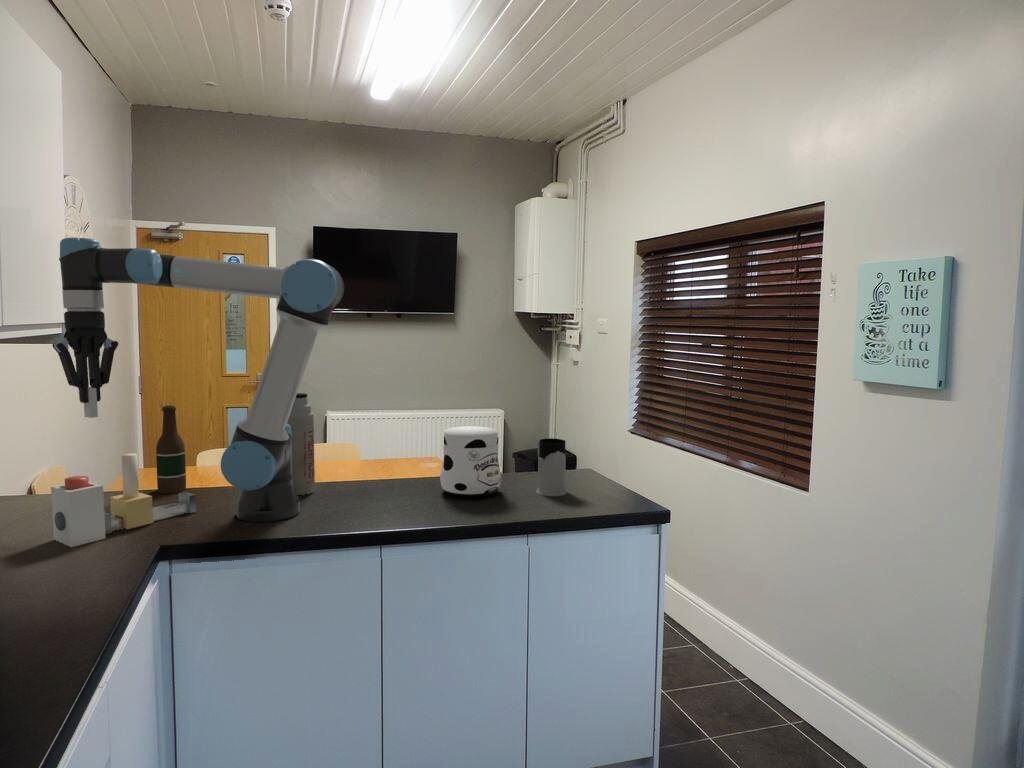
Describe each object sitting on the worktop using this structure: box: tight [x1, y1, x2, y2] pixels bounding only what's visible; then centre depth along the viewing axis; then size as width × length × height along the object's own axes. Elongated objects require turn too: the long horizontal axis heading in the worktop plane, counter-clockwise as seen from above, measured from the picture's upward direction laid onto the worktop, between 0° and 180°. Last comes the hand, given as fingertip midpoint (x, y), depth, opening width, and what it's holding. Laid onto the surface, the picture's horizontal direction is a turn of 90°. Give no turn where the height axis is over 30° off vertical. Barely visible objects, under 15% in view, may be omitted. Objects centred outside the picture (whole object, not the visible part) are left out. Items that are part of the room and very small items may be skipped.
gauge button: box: [64, 475, 90, 490], centre depth 149 cm, size 4×4×4 cm
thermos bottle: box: [287, 392, 316, 496], centre depth 190 cm, size 8×8×28 cm
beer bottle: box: [155, 405, 187, 495], centre depth 190 cm, size 8×8×24 cm
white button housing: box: [50, 481, 107, 548], centre depth 150 cm, size 8×7×12 cm
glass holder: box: [535, 437, 567, 497], centre depth 198 cm, size 9×14×15 cm, turn 21°
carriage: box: [110, 453, 154, 530], centre depth 160 cm, size 7×6×16 cm
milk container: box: [439, 425, 502, 498], centre depth 193 cm, size 17×17×18 cm
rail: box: [104, 491, 197, 535], centre depth 164 cm, size 5×22×4 cm, turn 147°
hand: (91, 416), depth 151 cm, fingers closed
